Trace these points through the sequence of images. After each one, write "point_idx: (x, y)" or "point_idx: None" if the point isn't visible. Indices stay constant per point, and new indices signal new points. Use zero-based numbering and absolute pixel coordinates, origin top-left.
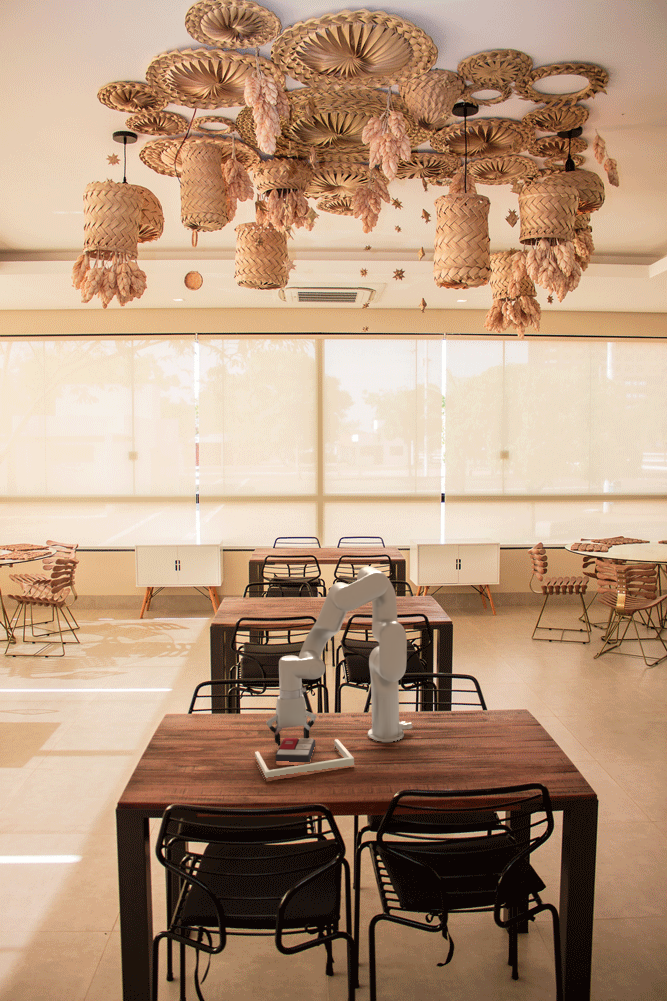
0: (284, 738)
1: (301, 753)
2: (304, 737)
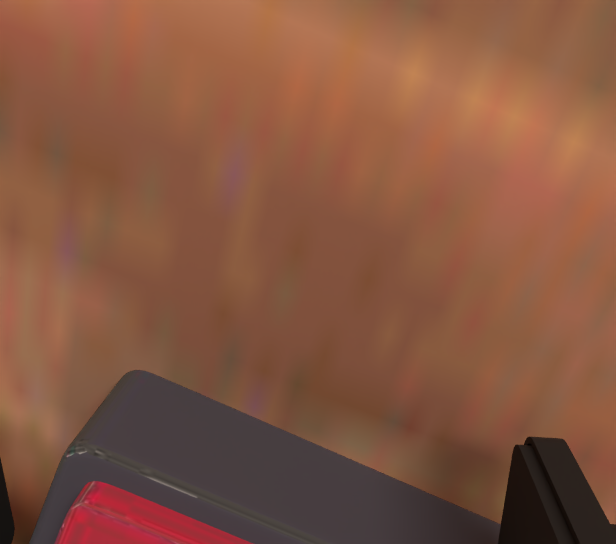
0: (61, 530)
1: None
2: (519, 526)
